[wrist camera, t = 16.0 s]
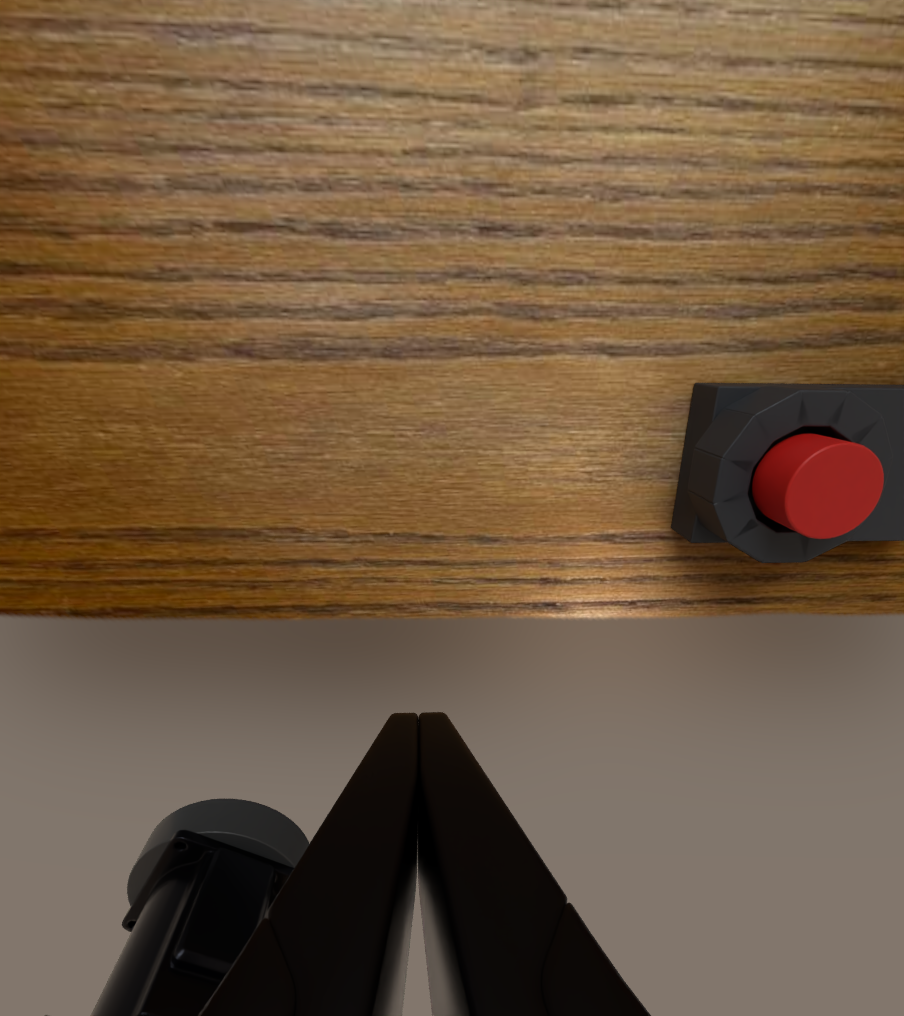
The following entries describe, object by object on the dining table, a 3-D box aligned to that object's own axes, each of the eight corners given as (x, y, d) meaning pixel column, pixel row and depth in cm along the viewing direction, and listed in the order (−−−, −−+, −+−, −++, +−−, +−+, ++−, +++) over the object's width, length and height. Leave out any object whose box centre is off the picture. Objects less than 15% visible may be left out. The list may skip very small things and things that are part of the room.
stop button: (742, 522, 18) (775, 540, 16) (761, 432, 17) (799, 442, 15) (827, 521, 18) (869, 539, 16) (851, 432, 17) (898, 442, 15)
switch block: (657, 529, 21) (701, 564, 18) (680, 380, 19) (734, 388, 16) (891, 527, 22) (977, 560, 18) (936, 383, 20) (1040, 392, 16)
